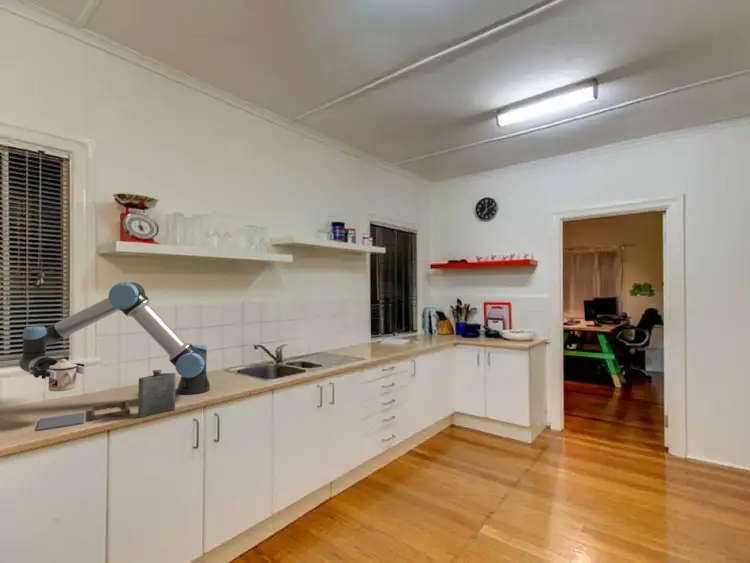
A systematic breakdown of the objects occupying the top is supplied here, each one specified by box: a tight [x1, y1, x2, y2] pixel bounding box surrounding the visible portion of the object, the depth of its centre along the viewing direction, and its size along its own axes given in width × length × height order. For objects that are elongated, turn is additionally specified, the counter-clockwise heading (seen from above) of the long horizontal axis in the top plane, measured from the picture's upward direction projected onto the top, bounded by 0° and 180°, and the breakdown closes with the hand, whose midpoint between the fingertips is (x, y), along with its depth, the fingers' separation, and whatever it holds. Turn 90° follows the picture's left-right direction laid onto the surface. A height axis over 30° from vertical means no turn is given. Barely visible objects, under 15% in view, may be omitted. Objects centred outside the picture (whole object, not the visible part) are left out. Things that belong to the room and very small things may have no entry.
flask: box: [137, 369, 177, 419], centre depth 169 cm, size 4×14×18 cm, turn 139°
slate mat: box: [36, 412, 85, 432], centre depth 157 cm, size 14×14×1 cm
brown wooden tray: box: [91, 400, 131, 422], centre depth 169 cm, size 13×16×2 cm
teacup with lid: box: [48, 358, 77, 392], centre depth 158 cm, size 12×9×12 cm
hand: (70, 373), depth 156 cm, fingers closed on teacup with lid, 9 cm apart
